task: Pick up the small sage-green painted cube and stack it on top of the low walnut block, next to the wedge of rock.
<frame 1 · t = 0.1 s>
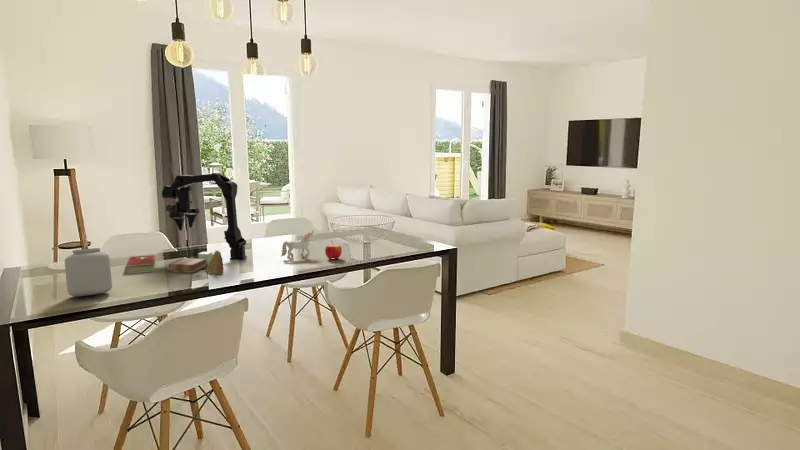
hand: (185, 229, 257), 15 cm above the table, tool pointing down, fingers open, 9 cm apart
walnut block: (188, 269, 234), on the table
jar: (91, 295, 193), on the table
green cube: (205, 262, 247), on the table
hardcover book: (141, 268, 236), on the table
unicorn figurine: (298, 257, 260), on the table
rock: (214, 273, 228), on the table
apple: (333, 259, 256), on the table
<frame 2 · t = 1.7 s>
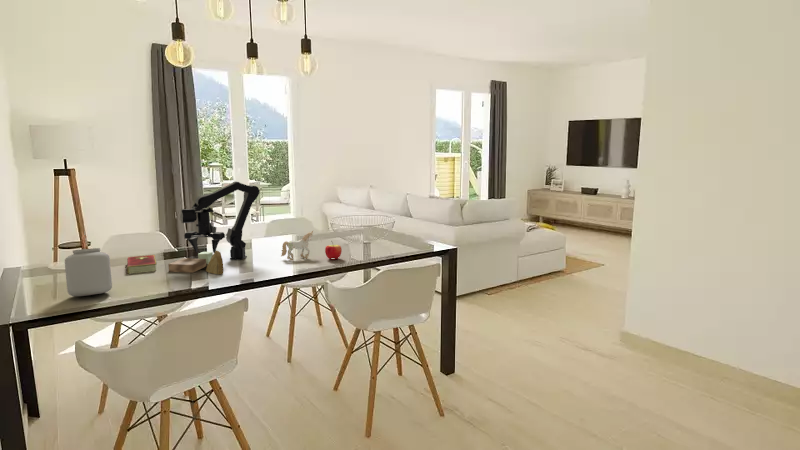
hand: (205, 252, 246), 5 cm above the table, tool pointing down, fingers open, 9 cm apart
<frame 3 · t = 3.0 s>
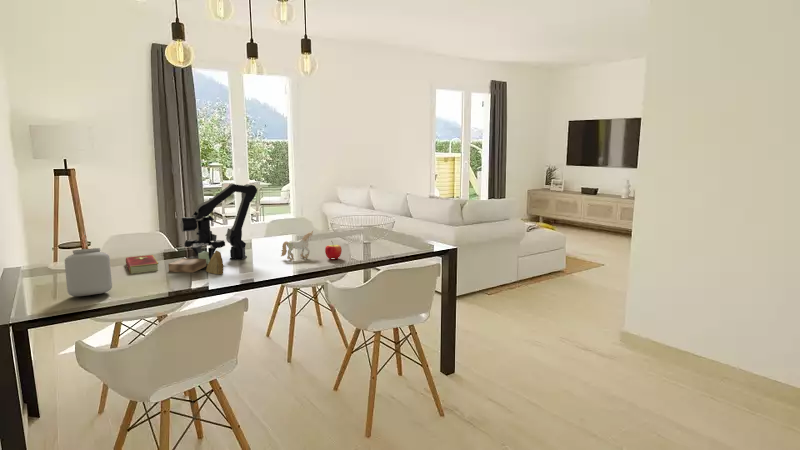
hand: (205, 260, 247), 1 cm above the table, tool pointing down, fingers closed on green cube, 5 cm apart
green cube: (205, 262, 247), on the table, touching gripper
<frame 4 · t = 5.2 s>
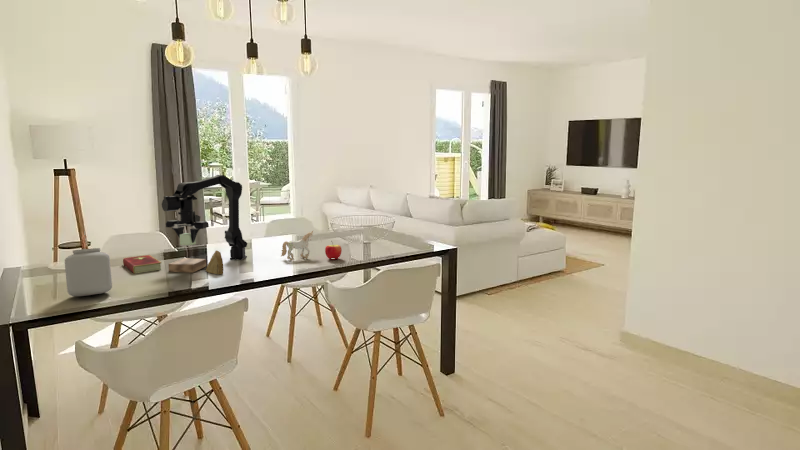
hand: (187, 242, 234), 12 cm above the table, tool pointing down, fingers closed on green cube, 5 cm apart
green cube: (188, 244, 234), point 11 cm above the table, touching gripper
when the fingers open (6 cm above the table, at t = 7.2 s): green cube drops 1 cm, point 4 cm above the table.
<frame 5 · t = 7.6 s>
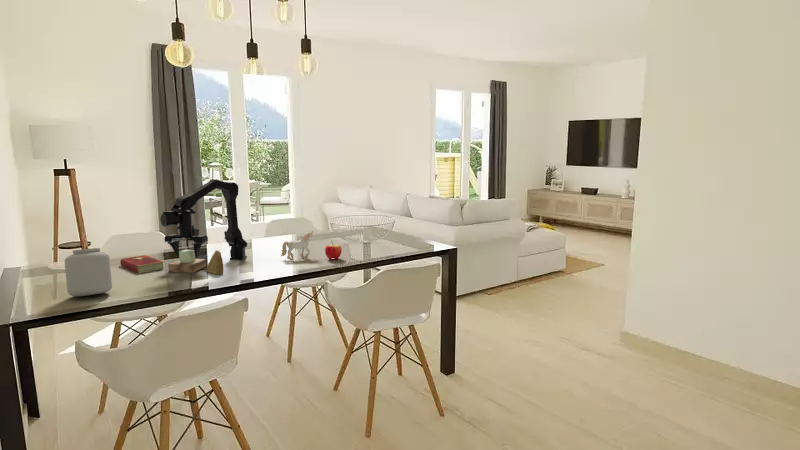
hand: (187, 256, 233), 6 cm above the table, tool pointing down, fingers open, 9 cm apart
green cube: (187, 261, 234), point 4 cm above the table
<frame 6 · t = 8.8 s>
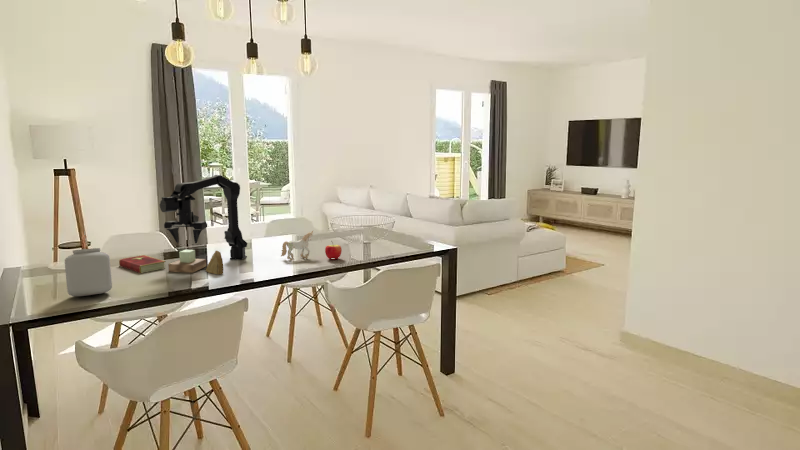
hand: (186, 242, 233), 12 cm above the table, tool pointing down, fingers open, 9 cm apart
walnut block: (188, 269, 234), on the table, touching green cube
green cube: (187, 261, 234), point 4 cm above the table, touching walnut block
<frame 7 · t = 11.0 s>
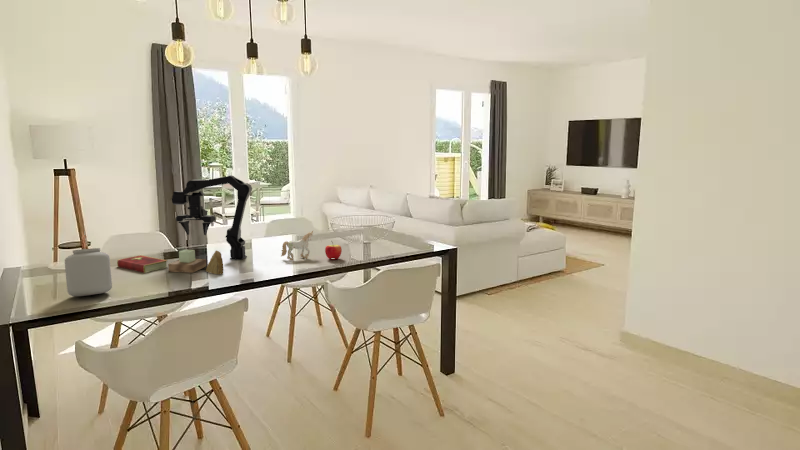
hand: (196, 234, 253), 12 cm above the table, tool pointing down, fingers open, 9 cm apart
walnut block: (188, 269, 234), on the table
green cube: (187, 261, 234), point 4 cm above the table
at the end: green cube 0.5 cm from the walnut block (horizontally); green cube point 3.5 cm above the table; green cube tilted 1° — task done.
